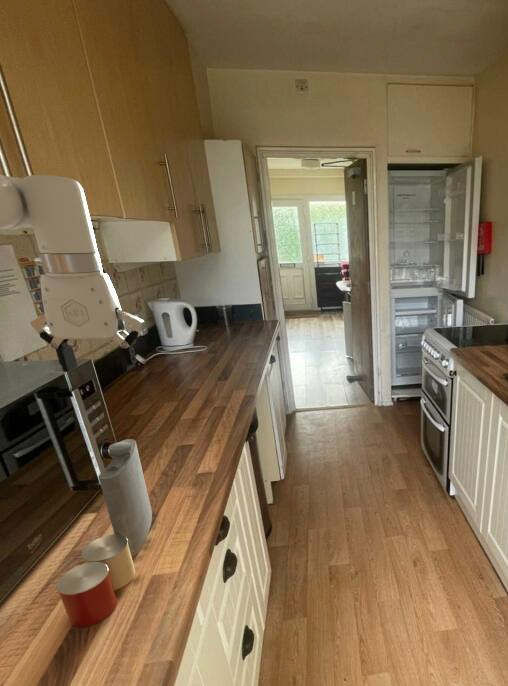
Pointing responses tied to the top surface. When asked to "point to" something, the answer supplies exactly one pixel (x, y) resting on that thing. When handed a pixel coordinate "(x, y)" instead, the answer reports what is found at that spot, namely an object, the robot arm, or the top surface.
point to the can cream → (112, 558)
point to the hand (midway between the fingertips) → (100, 369)
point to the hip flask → (127, 494)
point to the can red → (87, 594)
